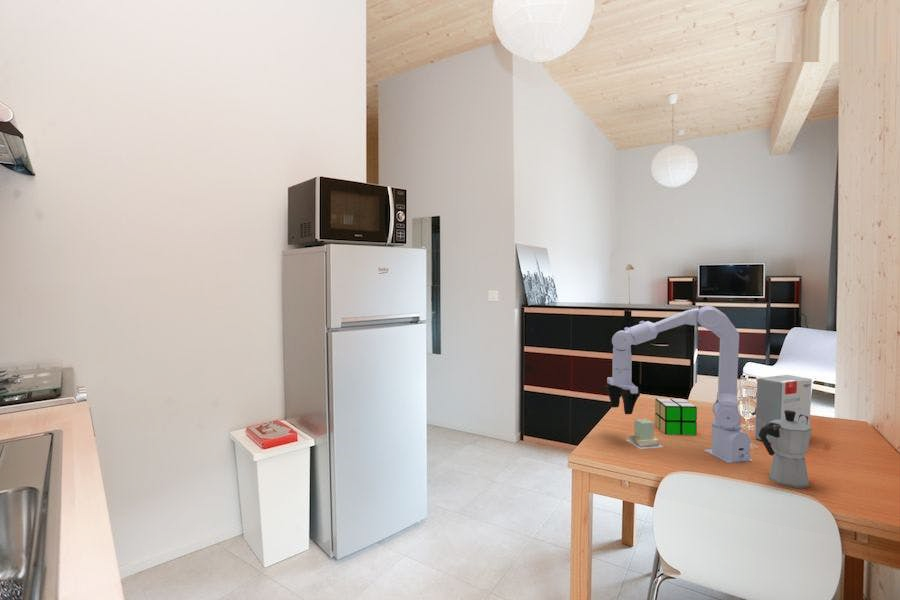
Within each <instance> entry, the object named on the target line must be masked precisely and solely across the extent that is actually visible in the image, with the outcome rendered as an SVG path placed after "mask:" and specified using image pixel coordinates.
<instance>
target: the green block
mask: <svg viewBox="0 0 900 600" xmlns="http://www.w3.org/2000/svg"><path fill="white" fill-rule="evenodd" d="M633 421H634V433H633V434H634V435H635V436H636V437H638V438H640V439H642V440H645V439H654V437H655V434H654V433H655V422H653V421H651V420H649V419H647V418H642V419H640V418H639V419H634V420H633Z"/></svg>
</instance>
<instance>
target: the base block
mask: <svg viewBox="0 0 900 600" xmlns="http://www.w3.org/2000/svg"><path fill="white" fill-rule="evenodd" d="M629 439H630V441H631V442H633V443H635V444H636V445H638V446H639V447H653V446H659V445H660V442H659V441H660V439H658V438H656V437H655V436H654V439H645V440H642V439H640V438H638V437H636V436H635V435H634V433H630V434H629Z"/></svg>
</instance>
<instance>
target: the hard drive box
mask: <svg viewBox="0 0 900 600" xmlns="http://www.w3.org/2000/svg"><path fill="white" fill-rule="evenodd" d="M756 380H757V381H756V403H755V406H756V407H755V422H754V423H755V424H754V425H755V426H754V439H757V440H759V441H762V440H761V438H760V437H759V433H760V430H761V428H762V427H764V426H766V424H767V423H769V422H770V421H773V420H782V419H786V418H785V412H784V411H785V410H790V411H794V412H796V414H795V418H794V421H797V422H800V423H803V424H806V425H810V426H811V406H812V405H811V402H812V381H813V379H812V378H806V377H802V376H796V375H791V374H781V375H774V376H765V377H758V378H757V379H756ZM766 438H767V440H768V441H769V443H770V445H772V443H771V435H768V434H767V436H766Z"/></svg>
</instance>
